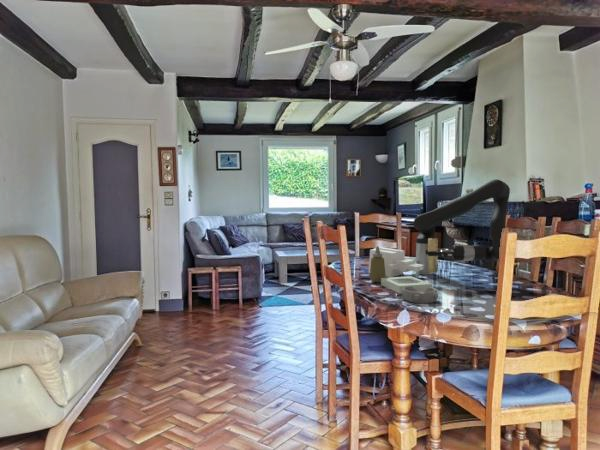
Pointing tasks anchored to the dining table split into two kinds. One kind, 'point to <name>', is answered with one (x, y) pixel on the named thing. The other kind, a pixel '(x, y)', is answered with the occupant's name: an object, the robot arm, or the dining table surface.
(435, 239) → the tan rectangular block
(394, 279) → the tray
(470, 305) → the dining table surface
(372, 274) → the squeeze bottle
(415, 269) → the blocky voxel creature
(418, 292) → the dish
